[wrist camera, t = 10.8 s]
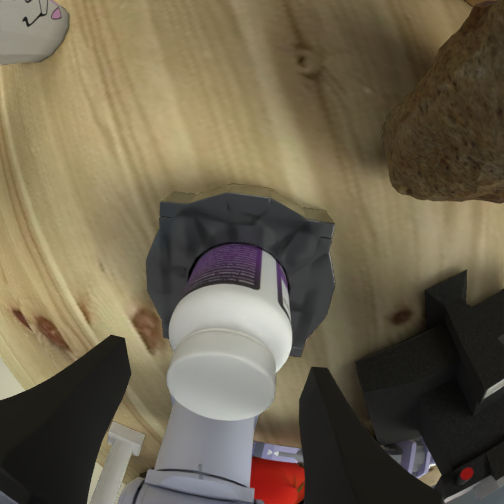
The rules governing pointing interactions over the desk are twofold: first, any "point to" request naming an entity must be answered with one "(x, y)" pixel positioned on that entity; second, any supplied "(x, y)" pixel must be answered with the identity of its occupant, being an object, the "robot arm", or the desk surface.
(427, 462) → the toy gun
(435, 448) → the camera
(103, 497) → the model tower
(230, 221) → the grey hollow flat block
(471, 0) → the steamer basket
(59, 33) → the cup
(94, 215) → the desk surface
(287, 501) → the tomato
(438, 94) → the stone
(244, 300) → the pill bottle
